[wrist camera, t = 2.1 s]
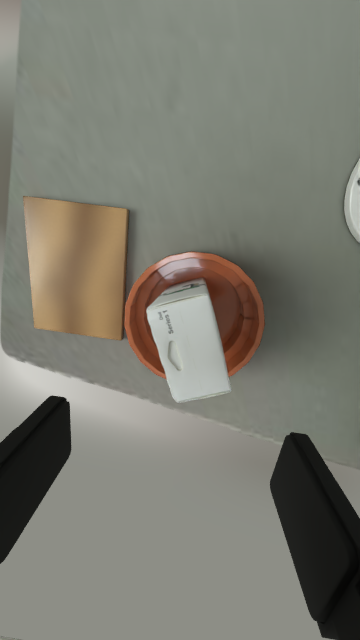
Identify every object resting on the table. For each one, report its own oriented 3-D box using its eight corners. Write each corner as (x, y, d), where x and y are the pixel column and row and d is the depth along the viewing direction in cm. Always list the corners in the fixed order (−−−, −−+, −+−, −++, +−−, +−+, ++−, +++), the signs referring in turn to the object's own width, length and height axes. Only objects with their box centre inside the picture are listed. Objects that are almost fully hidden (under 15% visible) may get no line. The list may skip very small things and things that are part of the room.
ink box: (220, 339, 28) (236, 396, 17) (183, 347, 29) (175, 408, 18) (204, 274, 26) (210, 291, 15) (165, 285, 27) (142, 309, 15)
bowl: (265, 261, 25) (280, 262, 20) (239, 371, 30) (247, 394, 25) (140, 244, 26) (128, 242, 21) (133, 355, 30) (121, 375, 25)
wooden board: (129, 210, 25) (126, 208, 24) (123, 338, 29) (121, 340, 29) (28, 197, 25) (22, 195, 24) (38, 326, 30) (34, 328, 29)
